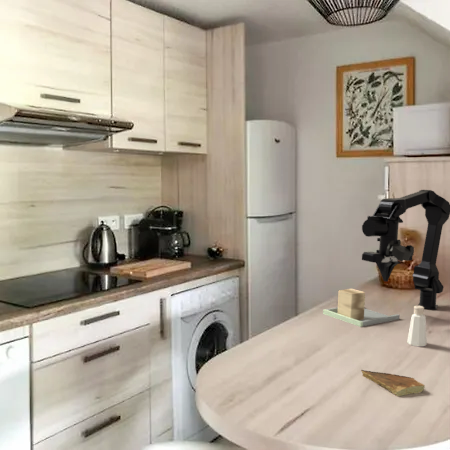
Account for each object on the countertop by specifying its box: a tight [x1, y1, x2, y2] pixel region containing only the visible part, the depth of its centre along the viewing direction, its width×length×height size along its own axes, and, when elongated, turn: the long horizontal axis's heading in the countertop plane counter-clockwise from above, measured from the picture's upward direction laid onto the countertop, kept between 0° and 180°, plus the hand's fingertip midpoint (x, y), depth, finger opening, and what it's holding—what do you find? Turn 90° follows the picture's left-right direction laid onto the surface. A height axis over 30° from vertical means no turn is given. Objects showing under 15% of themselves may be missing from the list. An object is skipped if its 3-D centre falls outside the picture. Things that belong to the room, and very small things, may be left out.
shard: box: [360, 369, 426, 397], centre depth 126 cm, size 13×9×2 cm
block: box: [337, 288, 366, 321], centre depth 175 cm, size 6×6×9 cm
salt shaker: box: [406, 305, 428, 347], centre depth 154 cm, size 5×5×11 cm
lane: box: [322, 306, 401, 328], centre depth 178 cm, size 18×17×3 cm
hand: (385, 281), depth 183 cm, fingers closed
